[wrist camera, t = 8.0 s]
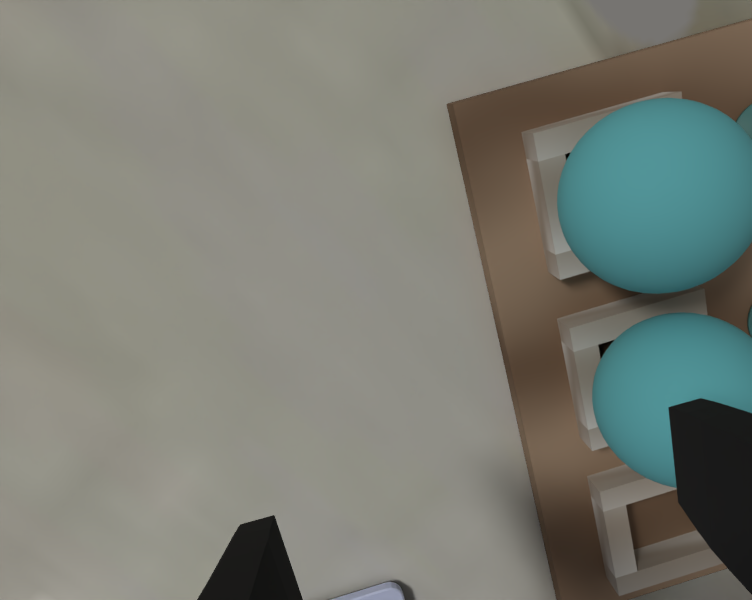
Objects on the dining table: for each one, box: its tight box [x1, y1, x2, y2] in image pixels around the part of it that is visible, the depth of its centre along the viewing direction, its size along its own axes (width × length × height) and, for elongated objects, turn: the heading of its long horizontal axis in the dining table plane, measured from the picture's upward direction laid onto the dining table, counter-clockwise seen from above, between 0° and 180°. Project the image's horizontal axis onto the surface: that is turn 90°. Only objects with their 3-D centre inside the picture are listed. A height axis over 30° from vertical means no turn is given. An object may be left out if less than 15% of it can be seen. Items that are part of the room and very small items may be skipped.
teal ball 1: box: [557, 98, 752, 294], centre depth 17 cm, size 5×5×5 cm
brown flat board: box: [447, 19, 752, 600], centre depth 22 cm, size 19×11×2 cm, turn 15°
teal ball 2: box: [592, 312, 752, 488], centre depth 19 cm, size 5×5×5 cm
